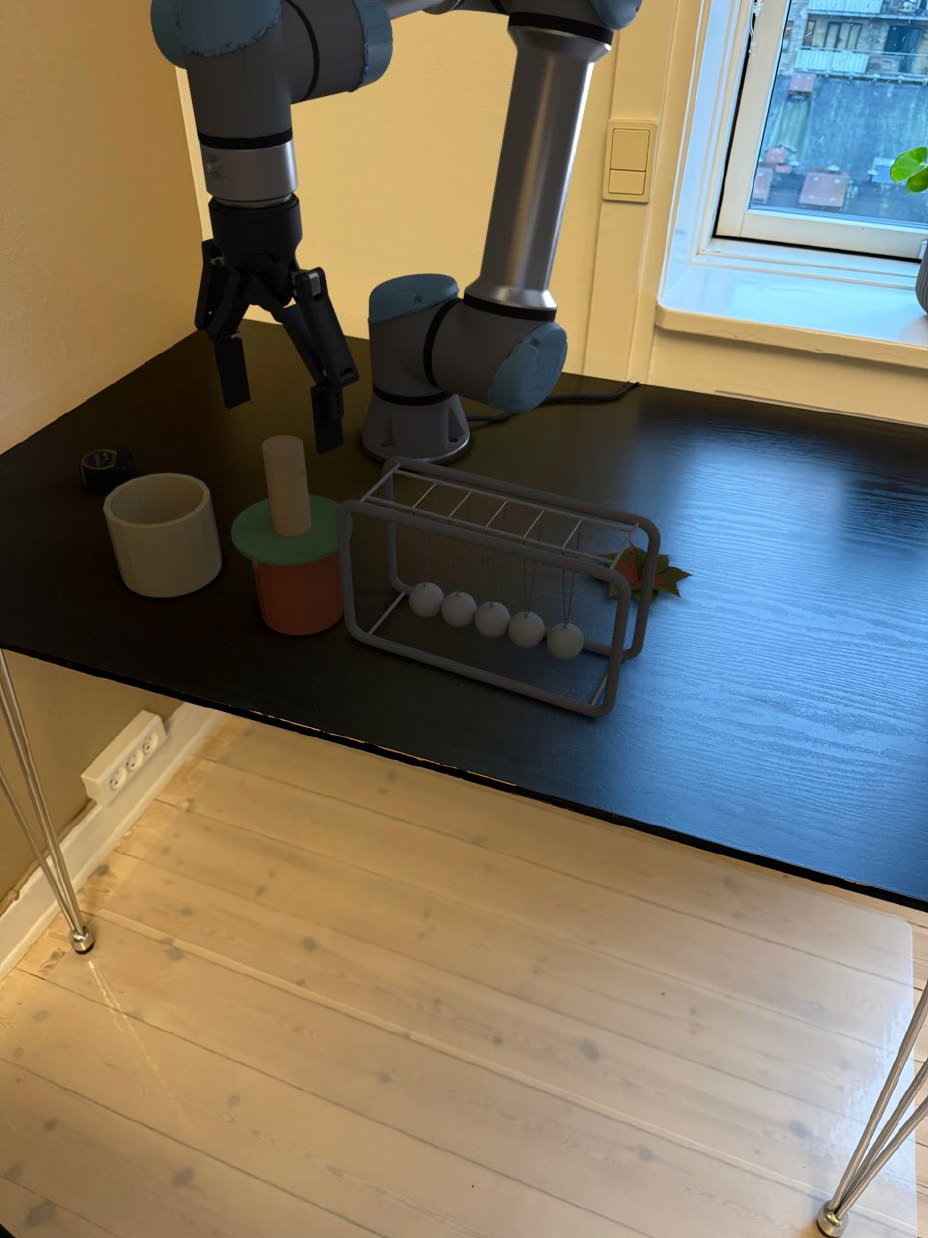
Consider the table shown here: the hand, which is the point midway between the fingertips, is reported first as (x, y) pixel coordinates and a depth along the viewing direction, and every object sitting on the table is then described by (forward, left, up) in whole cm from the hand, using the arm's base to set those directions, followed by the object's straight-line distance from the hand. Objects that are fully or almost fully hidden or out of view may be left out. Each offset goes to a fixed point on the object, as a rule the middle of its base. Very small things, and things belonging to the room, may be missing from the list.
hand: (282, 425), depth 93 cm
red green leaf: (-39, 0, -23) cm, 45 cm away
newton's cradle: (-19, +10, -23) cm, 32 cm away
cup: (0, 0, -23) cm, 23 cm away
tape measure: (+24, -31, -23) cm, 45 cm away
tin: (+15, -10, -23) cm, 29 cm away
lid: (0, 0, -12) cm, 12 cm away
